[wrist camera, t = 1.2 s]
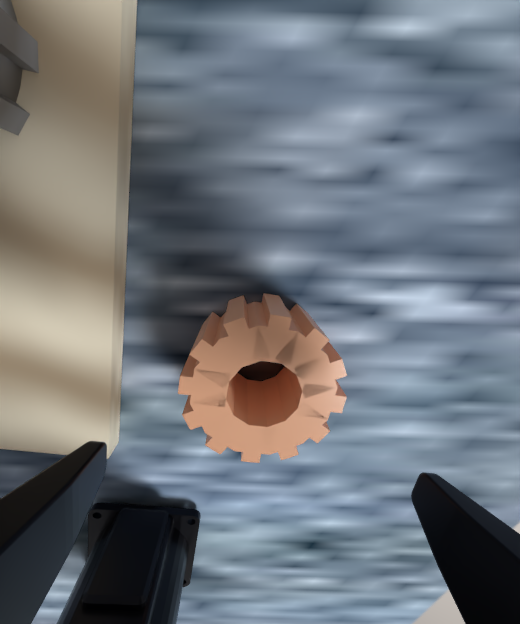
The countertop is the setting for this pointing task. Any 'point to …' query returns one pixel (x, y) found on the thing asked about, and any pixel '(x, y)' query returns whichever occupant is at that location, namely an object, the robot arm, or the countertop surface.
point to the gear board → (63, 219)
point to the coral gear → (261, 394)
